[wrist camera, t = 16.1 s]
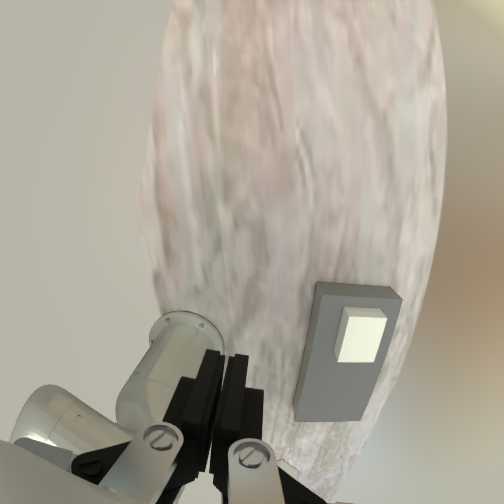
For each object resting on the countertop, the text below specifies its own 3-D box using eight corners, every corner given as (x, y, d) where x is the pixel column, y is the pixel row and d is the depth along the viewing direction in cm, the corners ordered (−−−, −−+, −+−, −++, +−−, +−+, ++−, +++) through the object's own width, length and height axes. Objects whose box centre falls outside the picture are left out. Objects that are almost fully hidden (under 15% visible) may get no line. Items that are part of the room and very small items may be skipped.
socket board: (354, 402, 47) (360, 420, 42) (293, 402, 48) (294, 421, 43) (390, 286, 41) (402, 299, 36) (316, 281, 42) (322, 294, 37)
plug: (359, 334, 43) (373, 362, 36) (327, 333, 44) (337, 362, 36) (369, 294, 42) (387, 317, 34) (336, 292, 42) (349, 316, 34)
